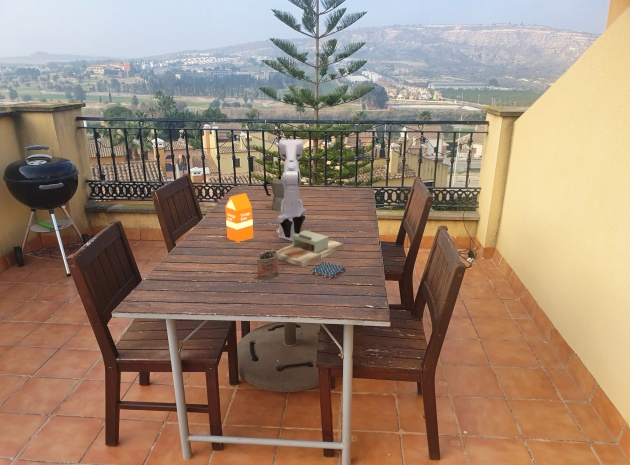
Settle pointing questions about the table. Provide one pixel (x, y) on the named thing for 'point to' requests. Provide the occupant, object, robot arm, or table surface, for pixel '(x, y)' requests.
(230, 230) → the orange juice
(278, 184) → the coffeepot
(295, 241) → the slide cover
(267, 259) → the lighter
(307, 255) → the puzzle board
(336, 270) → the woven mat
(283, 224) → the robot arm
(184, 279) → the table surface
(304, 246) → the walnut block
